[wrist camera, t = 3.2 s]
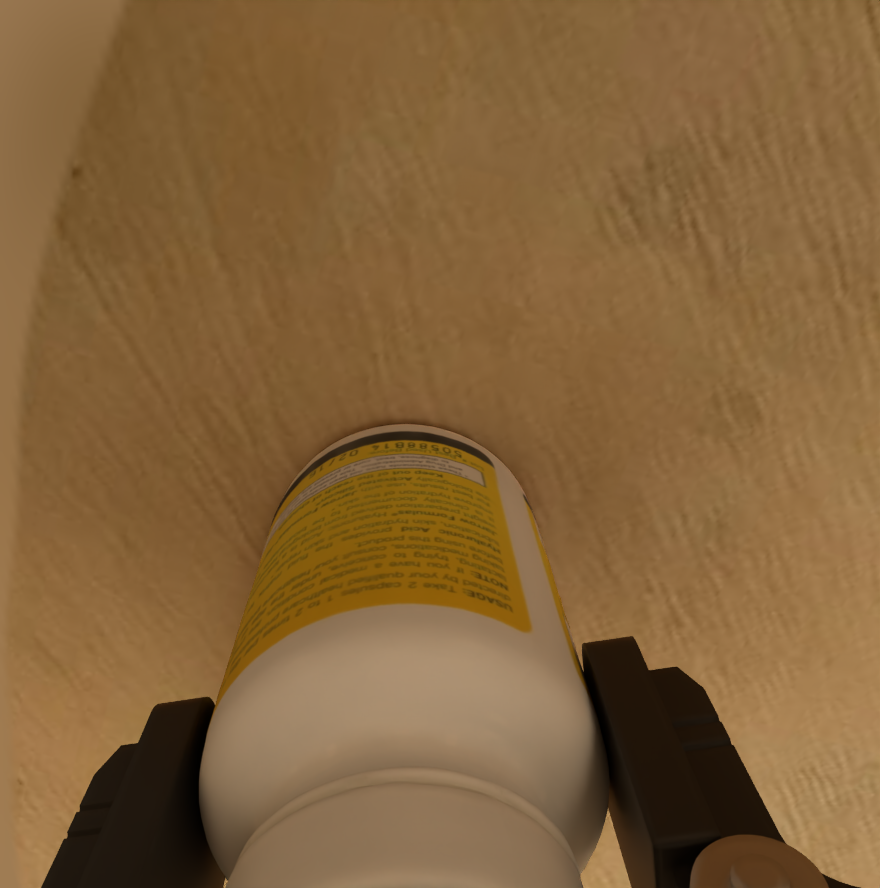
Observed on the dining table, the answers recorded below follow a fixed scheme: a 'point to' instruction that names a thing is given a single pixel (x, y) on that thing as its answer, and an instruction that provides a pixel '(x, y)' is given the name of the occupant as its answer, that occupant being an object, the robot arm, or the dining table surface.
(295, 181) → the dining table surface
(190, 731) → the robot arm
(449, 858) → the supplement bottle
